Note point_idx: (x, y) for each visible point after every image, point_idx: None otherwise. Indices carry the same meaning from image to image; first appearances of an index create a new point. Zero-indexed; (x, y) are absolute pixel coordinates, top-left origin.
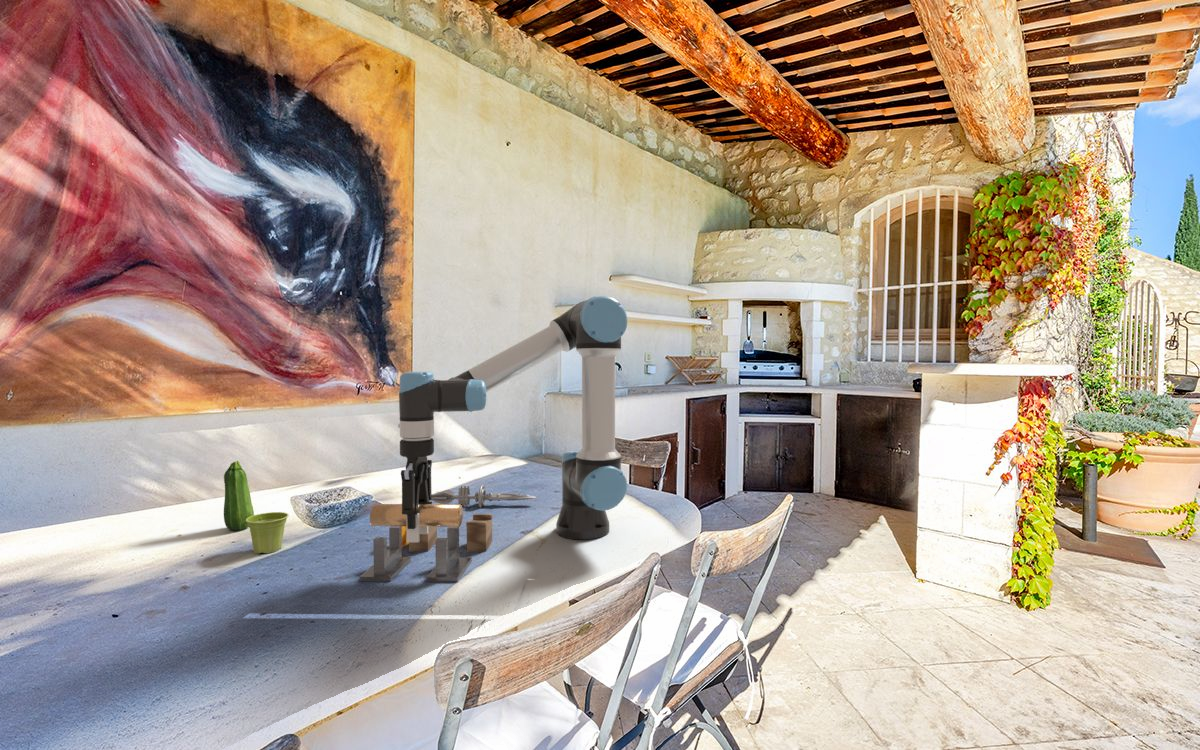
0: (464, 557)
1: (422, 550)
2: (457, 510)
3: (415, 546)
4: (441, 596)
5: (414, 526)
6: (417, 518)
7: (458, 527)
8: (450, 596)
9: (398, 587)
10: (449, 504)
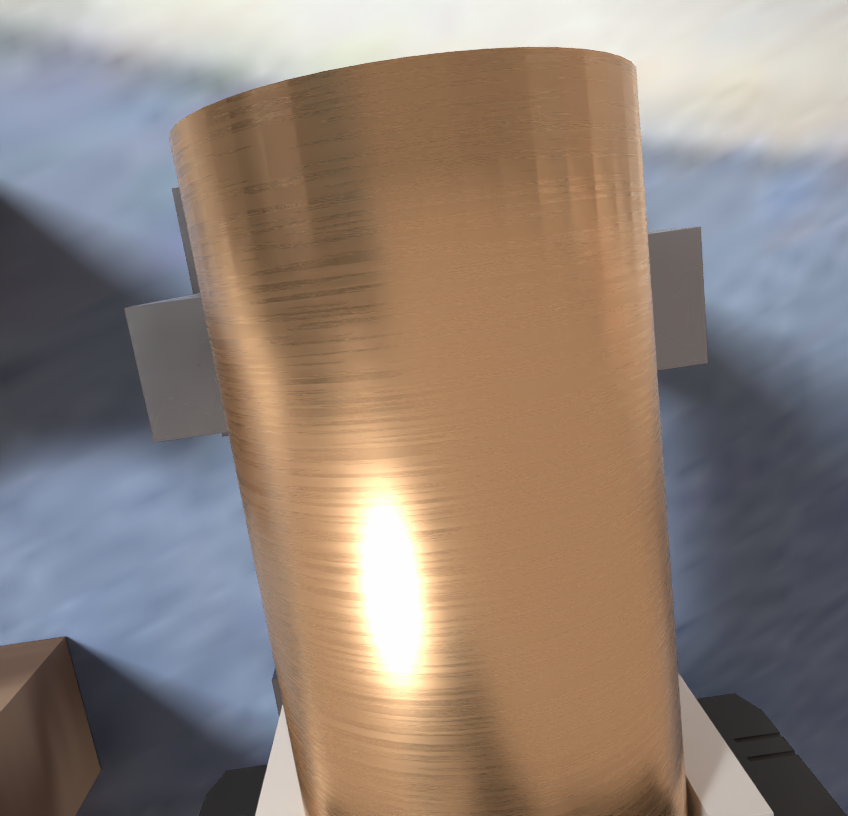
0: (186, 254)
1: (72, 681)
2: (610, 58)
3: (71, 751)
4: (844, 147)
5: (729, 714)
6: (735, 767)
7: (147, 304)
8: (842, 79)
9: (721, 512)
10: (420, 378)
